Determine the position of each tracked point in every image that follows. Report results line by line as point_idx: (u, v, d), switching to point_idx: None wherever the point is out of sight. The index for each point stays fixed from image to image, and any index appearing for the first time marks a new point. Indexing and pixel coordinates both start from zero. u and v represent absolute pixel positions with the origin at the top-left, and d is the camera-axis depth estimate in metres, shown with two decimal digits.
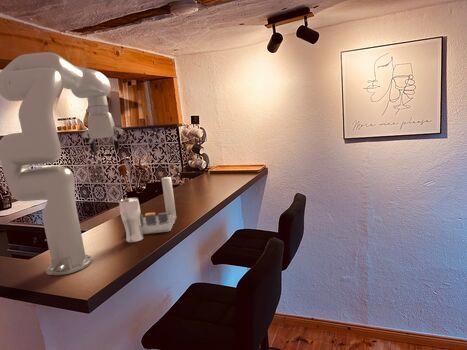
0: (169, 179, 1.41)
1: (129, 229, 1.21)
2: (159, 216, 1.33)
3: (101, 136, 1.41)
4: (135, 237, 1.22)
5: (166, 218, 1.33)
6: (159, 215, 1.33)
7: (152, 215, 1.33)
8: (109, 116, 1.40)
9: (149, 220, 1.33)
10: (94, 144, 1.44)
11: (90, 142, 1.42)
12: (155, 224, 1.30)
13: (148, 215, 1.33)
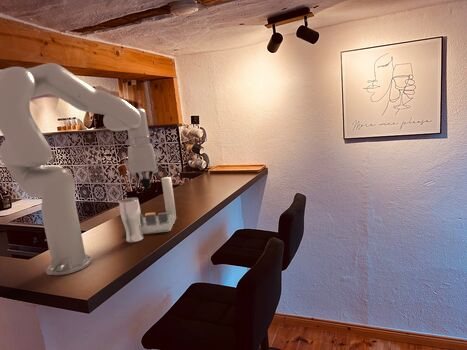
0: (169, 179, 1.41)
1: (129, 229, 1.21)
2: (159, 216, 1.33)
3: (142, 170, 1.28)
4: (135, 237, 1.22)
5: (166, 218, 1.33)
6: (159, 215, 1.33)
7: (152, 215, 1.33)
8: (151, 148, 1.28)
9: (149, 220, 1.33)
10: None
11: (141, 177, 1.30)
12: (155, 224, 1.30)
13: (148, 215, 1.33)
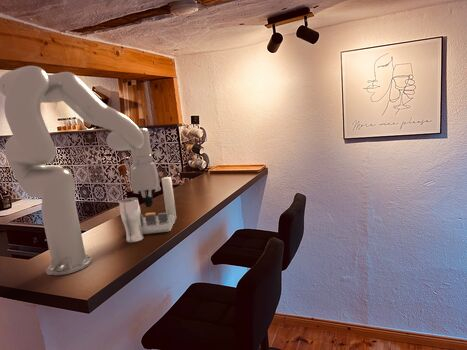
0: (169, 179, 1.41)
1: (129, 229, 1.21)
2: (159, 216, 1.33)
3: (145, 188, 1.30)
4: (135, 237, 1.22)
5: (166, 218, 1.33)
6: (159, 215, 1.33)
7: (152, 215, 1.33)
8: (154, 167, 1.29)
9: (149, 220, 1.33)
10: None
11: (144, 196, 1.32)
12: (155, 224, 1.30)
13: (148, 215, 1.33)
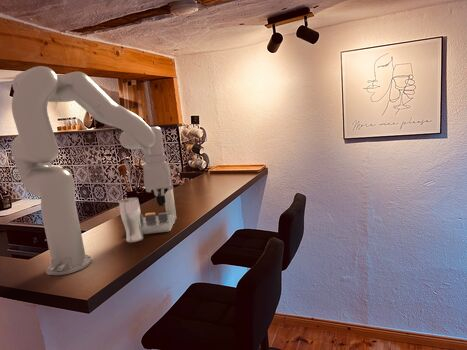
0: None
1: (129, 229, 1.21)
2: (159, 216, 1.33)
3: (158, 187, 1.29)
4: (135, 237, 1.22)
5: (166, 218, 1.33)
6: (159, 215, 1.33)
7: (152, 215, 1.33)
8: (167, 166, 1.29)
9: (149, 220, 1.33)
10: None
11: (157, 194, 1.31)
12: (155, 224, 1.30)
13: (148, 215, 1.33)
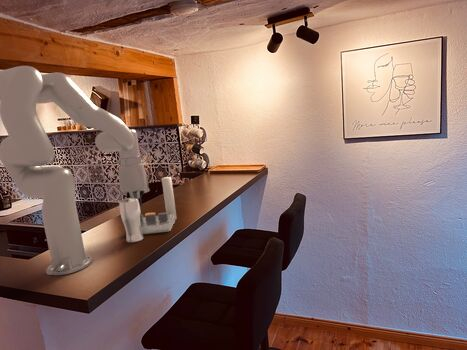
0: (169, 179, 1.41)
1: (129, 229, 1.21)
2: (159, 216, 1.33)
3: (133, 190, 1.30)
4: (135, 237, 1.22)
5: (166, 218, 1.33)
6: (159, 215, 1.33)
7: (152, 215, 1.33)
8: (142, 168, 1.29)
9: (149, 220, 1.33)
10: None
11: (132, 197, 1.32)
12: (155, 224, 1.30)
13: (148, 215, 1.33)
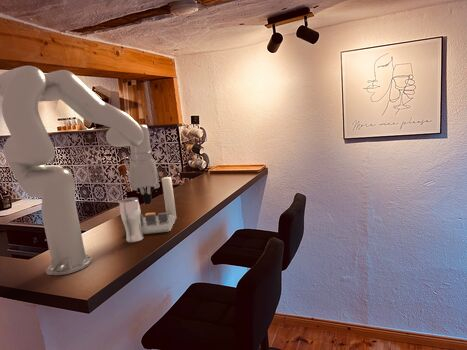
0: (169, 179, 1.41)
1: (129, 229, 1.21)
2: (159, 216, 1.33)
3: (144, 185, 1.29)
4: (135, 237, 1.22)
5: (166, 218, 1.33)
6: (159, 215, 1.33)
7: (152, 215, 1.33)
8: (153, 164, 1.29)
9: (149, 220, 1.33)
10: None
11: (143, 193, 1.31)
12: (155, 224, 1.30)
13: (148, 215, 1.33)
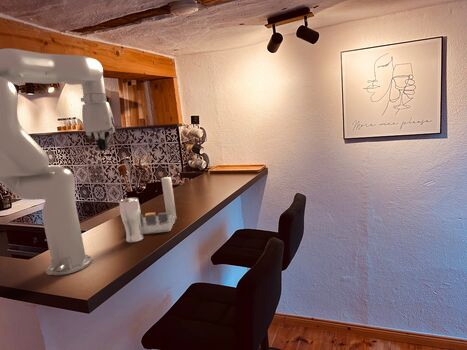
0: (169, 179, 1.40)
1: (129, 229, 1.21)
2: (159, 216, 1.33)
3: (97, 129, 1.22)
4: (135, 237, 1.22)
5: (166, 218, 1.33)
6: (159, 215, 1.33)
7: (152, 215, 1.33)
8: (106, 106, 1.21)
9: (149, 220, 1.33)
10: None
11: (97, 138, 1.24)
12: (155, 224, 1.30)
13: (148, 215, 1.33)
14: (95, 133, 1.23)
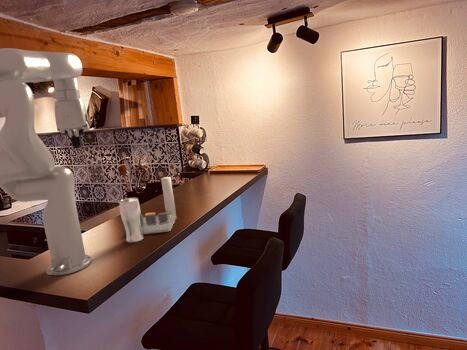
0: (169, 179, 1.40)
1: (129, 229, 1.21)
2: (159, 216, 1.33)
3: (70, 126, 1.19)
4: (135, 237, 1.22)
5: (166, 218, 1.33)
6: (159, 215, 1.33)
7: (152, 215, 1.33)
8: (80, 103, 1.19)
9: (149, 220, 1.33)
10: None
11: (71, 135, 1.21)
12: (155, 224, 1.30)
13: (148, 215, 1.33)
14: (69, 130, 1.21)
